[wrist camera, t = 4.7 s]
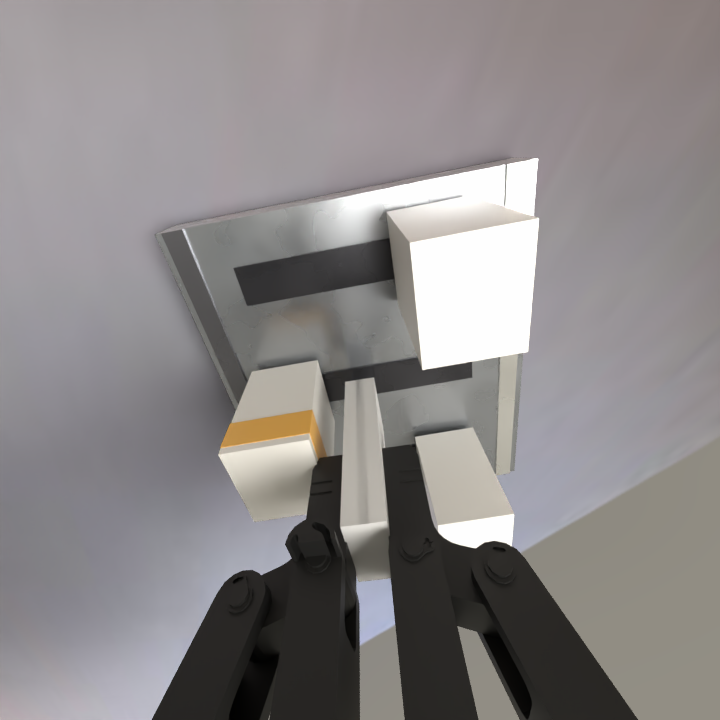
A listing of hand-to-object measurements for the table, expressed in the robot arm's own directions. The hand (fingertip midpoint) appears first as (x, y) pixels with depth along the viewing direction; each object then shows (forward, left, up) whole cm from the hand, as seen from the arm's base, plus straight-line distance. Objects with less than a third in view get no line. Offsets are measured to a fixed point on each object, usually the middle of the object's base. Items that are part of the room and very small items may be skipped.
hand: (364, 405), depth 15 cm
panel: (+1, 0, -4) cm, 4 cm away
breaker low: (+4, -6, -1) cm, 7 cm away
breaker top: (+4, +5, -1) cm, 7 cm away
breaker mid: (-3, 0, -1) cm, 4 cm away
